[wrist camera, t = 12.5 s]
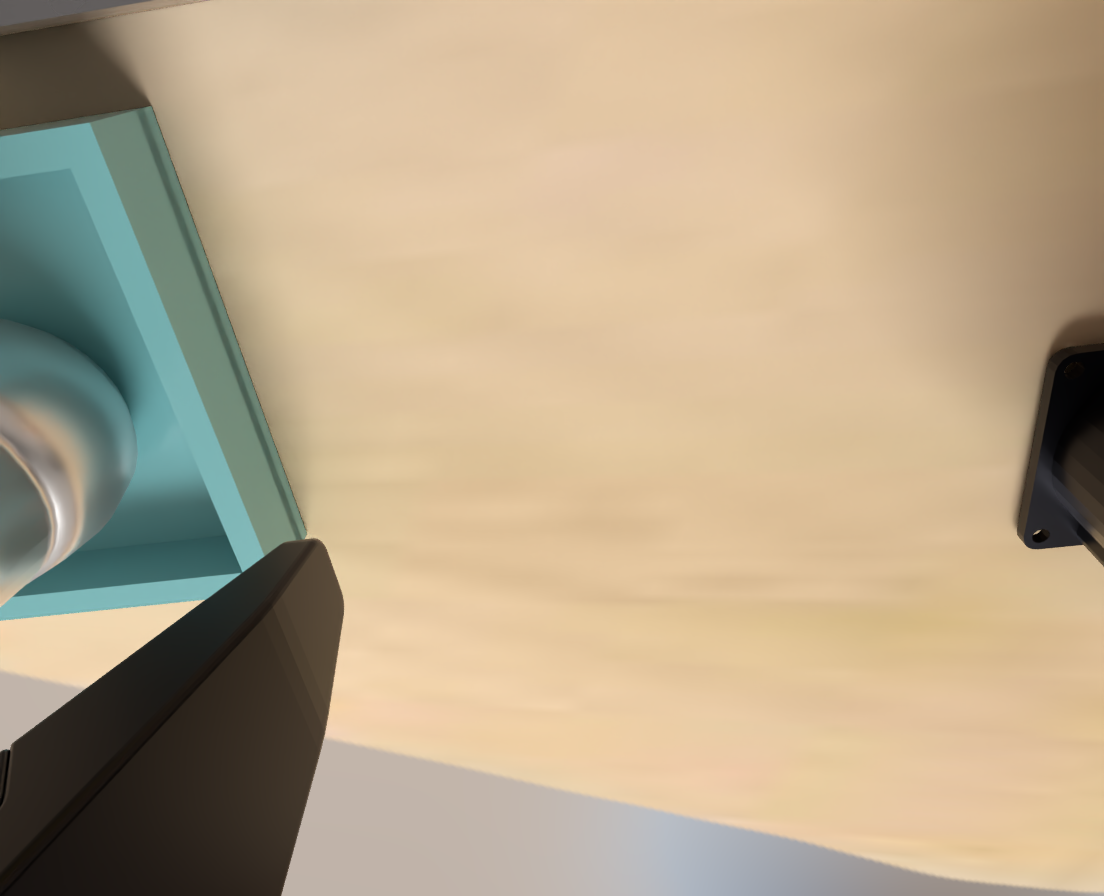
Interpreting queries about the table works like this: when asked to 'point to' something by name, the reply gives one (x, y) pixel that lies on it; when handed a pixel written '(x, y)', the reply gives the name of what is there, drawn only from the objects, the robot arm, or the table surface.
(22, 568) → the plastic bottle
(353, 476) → the table surface
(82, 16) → the open frame
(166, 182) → the tray
